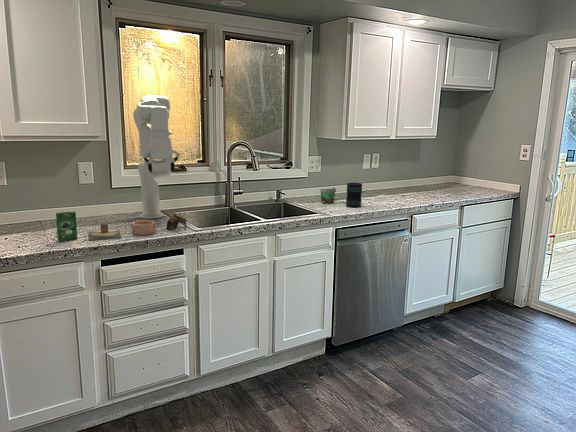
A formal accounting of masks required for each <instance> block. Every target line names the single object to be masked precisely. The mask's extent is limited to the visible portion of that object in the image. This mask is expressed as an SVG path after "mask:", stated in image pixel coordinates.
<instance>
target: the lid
mask: <svg viewBox="0 0 576 432" xmlns="http://www.w3.org/2000/svg"><path fill="white" fill-rule="evenodd" d="M118 230H119V229H116V228H115V229H114V228H109V223H107V222H103V223H100V229H96V230H93V231H90V232H91V236H92V237H96V238H107V237H113V236H116V235H118Z"/></svg>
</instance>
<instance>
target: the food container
mask: <svg viewBox="0 0 576 432" xmlns="http://www.w3.org/2000/svg"><path fill="white" fill-rule="evenodd" d="M319 192H320V199H321V200H320V203H321V204H324V205H333V204H334V203H335V195H336V192H337V188H336V187H333V188H326V189H325V188H320V191H319Z"/></svg>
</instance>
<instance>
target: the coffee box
mask: <svg viewBox="0 0 576 432" xmlns="http://www.w3.org/2000/svg"><path fill="white" fill-rule="evenodd" d="M55 216H56V217H55V218H56V221H55V222H56V233H57V241H58V242H59V243H60V242H66V241H73V240H77V239H78V231H77V230H78V229H77V227H78V226H77V214H76V211H74V210H70V211H63V212H55Z"/></svg>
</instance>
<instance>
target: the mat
mask: <svg viewBox="0 0 576 432" xmlns="http://www.w3.org/2000/svg"><path fill="white" fill-rule="evenodd" d="M117 230H118V235H116V236H113V237H107V238H96V237H92V236H91V232H92V231H89V232H88V239H89V242H90V241H91V242H92V241H101V240H103V241H105V240H113V239H114V240H115V239H122V238H123V237H122V234H121V231H120V229H117Z"/></svg>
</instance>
